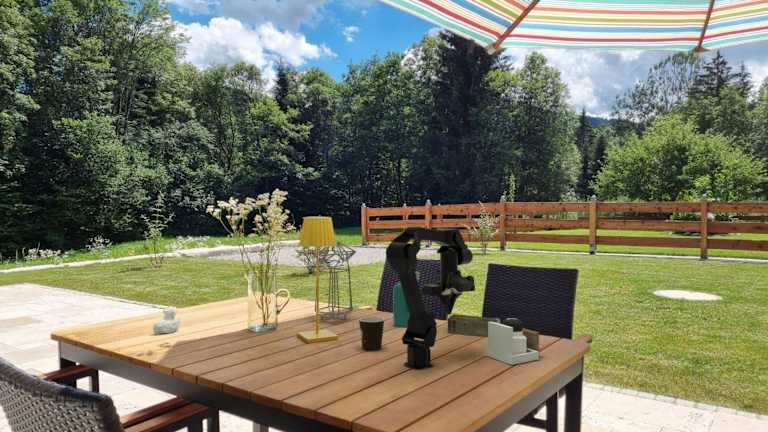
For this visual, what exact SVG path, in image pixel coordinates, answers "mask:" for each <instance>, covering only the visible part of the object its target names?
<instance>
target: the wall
mask: <svg viewBox="0 0 768 432" xmlns="http://www.w3.org/2000/svg"><path fill="white" fill-rule="evenodd" d="M522 334H523V335H524V336H525V337H526V338H527V348H529V349H532V350H535V351H538V352H539V353H540V332H538V331H534V330H531V329H528V328H527V329H526V328H524V327H523V333H522Z"/></svg>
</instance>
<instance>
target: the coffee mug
mask: <svg viewBox="0 0 768 432" xmlns="http://www.w3.org/2000/svg"><path fill="white" fill-rule="evenodd" d="M358 321H359V332H360V341H361V347H362V350H363V351H366V352H377V351H378V352H379V351H380V350H382V345H383V344H382V342H383V334H384V326H385V318H384V317H379V316H378V317H377V316H363V317H361V318H359V319H358Z"/></svg>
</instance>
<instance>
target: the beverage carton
mask: <svg viewBox="0 0 768 432" xmlns="http://www.w3.org/2000/svg"><path fill="white" fill-rule="evenodd" d="M488 322H495V323H499V324H501V319H500V318H498V317H486V316H485V317H484V316H474V315H464V314H454V313H453V314H452V315H451V316H449V317H448V318H447V333H448V334H454V335H464V336H471V337H481V338H482V337H484V338H488Z"/></svg>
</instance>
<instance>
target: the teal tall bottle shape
mask: <svg viewBox="0 0 768 432" xmlns="http://www.w3.org/2000/svg"><path fill="white" fill-rule="evenodd" d="M415 274H416V278H417V281H418V282H419V279H420V271H415ZM392 290H393V296H392V297H393V298H392V300H393V305H392V306H393V310H392V312H393V313H392V315H393V317H392V319H393V322H392V323H393V326H394V327H395V328H396V327H397V328H408V326H407V321H408V319H409V316H410V314H409V310H408V307H407V304H406V300H405V297H404V293H403V290H402V286H401V283H400V282H398V283H396V284H395V285H394V286H393V289H392Z"/></svg>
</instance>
